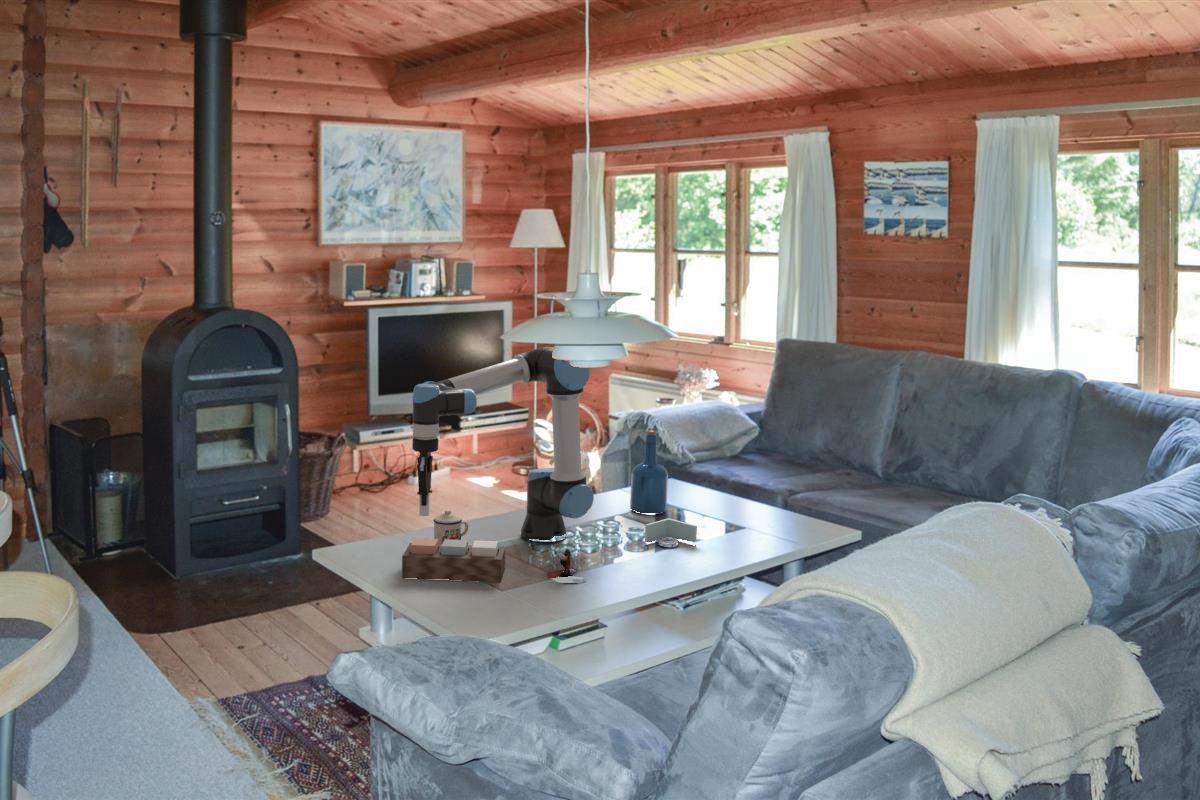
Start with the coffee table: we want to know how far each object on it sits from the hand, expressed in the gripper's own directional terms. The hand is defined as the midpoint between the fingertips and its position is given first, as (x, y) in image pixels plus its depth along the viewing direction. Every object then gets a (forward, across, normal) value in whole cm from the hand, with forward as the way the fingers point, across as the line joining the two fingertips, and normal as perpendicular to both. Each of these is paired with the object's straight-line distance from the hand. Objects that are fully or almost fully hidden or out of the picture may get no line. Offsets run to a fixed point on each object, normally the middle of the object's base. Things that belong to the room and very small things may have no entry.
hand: (424, 515), depth 343 cm
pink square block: (+13, 0, 0) cm, 13 cm away
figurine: (+18, -2, +43) cm, 47 cm away
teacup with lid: (+18, -29, +4) cm, 34 cm away
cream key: (+13, 0, +18) cm, 22 cm away
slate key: (+13, 0, +9) cm, 16 cm away
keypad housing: (+18, 0, +9) cm, 20 cm away
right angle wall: (+18, -38, +75) cm, 86 cm away
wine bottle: (+17, -79, +69) cm, 107 cm away
